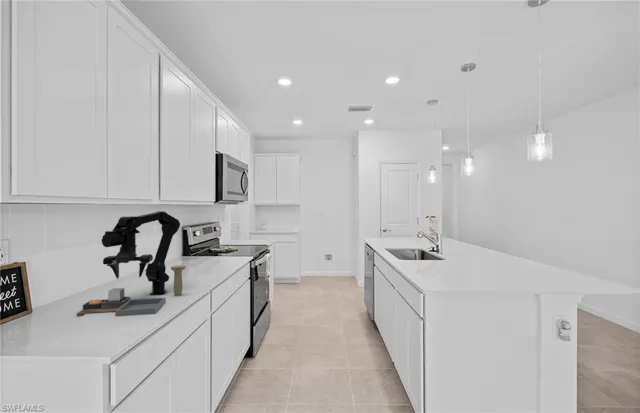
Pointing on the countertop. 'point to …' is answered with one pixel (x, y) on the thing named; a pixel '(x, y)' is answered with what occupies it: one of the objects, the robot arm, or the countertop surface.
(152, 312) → the tote
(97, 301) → the button
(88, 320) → the countertop surface
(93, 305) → the brown wood panel
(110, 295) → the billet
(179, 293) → the handle
